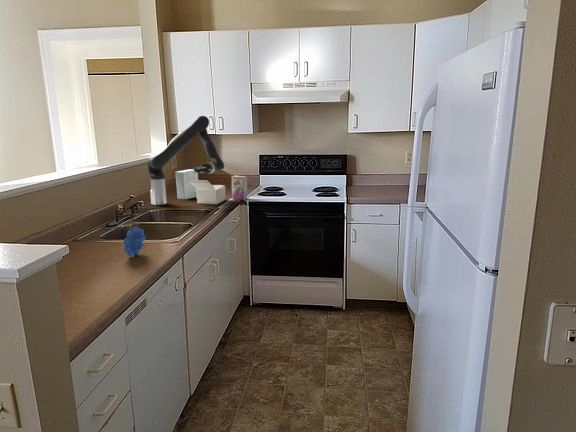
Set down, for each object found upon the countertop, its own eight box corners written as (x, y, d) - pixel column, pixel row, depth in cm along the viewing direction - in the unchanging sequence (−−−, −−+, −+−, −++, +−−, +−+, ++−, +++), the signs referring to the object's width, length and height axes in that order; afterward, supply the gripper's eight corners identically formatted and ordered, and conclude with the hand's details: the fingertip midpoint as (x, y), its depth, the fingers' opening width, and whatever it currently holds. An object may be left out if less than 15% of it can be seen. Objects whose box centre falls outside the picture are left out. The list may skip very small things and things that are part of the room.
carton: (217, 204, 283) (217, 189, 281) (196, 203, 286) (195, 188, 284) (226, 199, 299) (225, 185, 297) (206, 199, 302) (205, 184, 300)
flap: (214, 189, 280) (207, 181, 267) (196, 188, 283) (188, 180, 270) (214, 188, 280) (207, 180, 267) (196, 188, 283) (188, 179, 270)
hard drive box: (192, 195, 317) (190, 169, 312) (199, 196, 313) (198, 169, 309) (176, 198, 304) (175, 171, 299) (184, 199, 300) (183, 172, 296)
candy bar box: (231, 198, 303) (230, 176, 299) (236, 197, 307) (235, 175, 304) (243, 200, 297) (242, 177, 293) (248, 199, 301) (247, 176, 298)
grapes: (138, 249, 185) (136, 223, 182) (150, 251, 182) (147, 225, 179) (117, 257, 175) (114, 229, 172) (129, 259, 172) (126, 231, 169)
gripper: (198, 162, 284) (187, 164, 267) (216, 163, 281) (206, 165, 265) (198, 173, 285) (187, 176, 269) (217, 174, 283) (206, 177, 266)
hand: (197, 170), depth 267 cm, fingers closed
